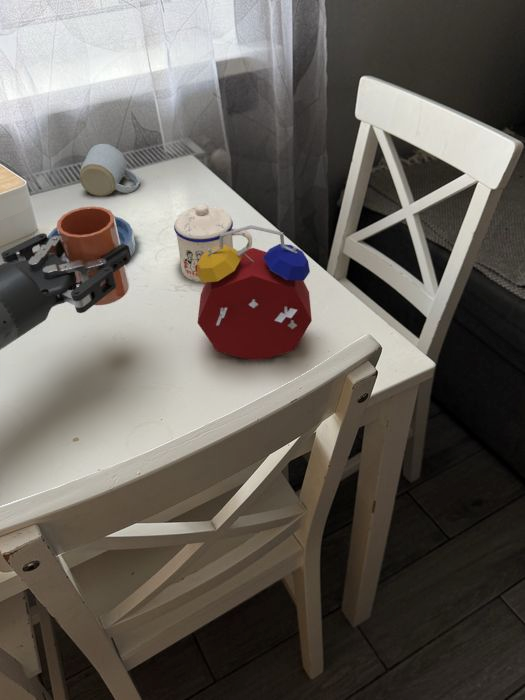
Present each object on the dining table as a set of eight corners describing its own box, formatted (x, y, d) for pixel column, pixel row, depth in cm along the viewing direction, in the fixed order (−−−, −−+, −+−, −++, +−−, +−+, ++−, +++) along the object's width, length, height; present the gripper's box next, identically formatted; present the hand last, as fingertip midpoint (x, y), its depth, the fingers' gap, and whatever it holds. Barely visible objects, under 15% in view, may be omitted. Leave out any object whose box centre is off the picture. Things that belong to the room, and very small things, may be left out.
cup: (68, 301, 74) (46, 233, 67) (90, 271, 79) (72, 204, 72) (117, 308, 73) (99, 239, 66) (136, 277, 78) (122, 209, 71)
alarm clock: (307, 331, 86) (312, 209, 73) (311, 374, 80) (316, 250, 66) (205, 333, 87) (191, 212, 73) (201, 376, 80) (184, 253, 67)
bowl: (36, 273, 98) (29, 256, 96) (74, 227, 108) (69, 210, 106) (115, 284, 96) (111, 266, 93) (147, 236, 106) (144, 218, 103)
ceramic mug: (81, 198, 116) (72, 161, 110) (93, 178, 121) (85, 142, 116) (135, 200, 115) (129, 163, 110) (144, 179, 121) (138, 143, 116)
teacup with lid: (178, 287, 95) (169, 223, 87) (182, 254, 101) (173, 192, 93) (254, 284, 95) (251, 220, 87) (252, 251, 101) (250, 189, 93)
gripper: (22, 311, 58) (144, 233, 67) (-61, 261, 64) (61, 196, 74) (43, 365, 63) (154, 286, 73) (-35, 314, 69) (76, 247, 79)
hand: (107, 241), depth 73 cm, fingers closed on cup, 6 cm apart
